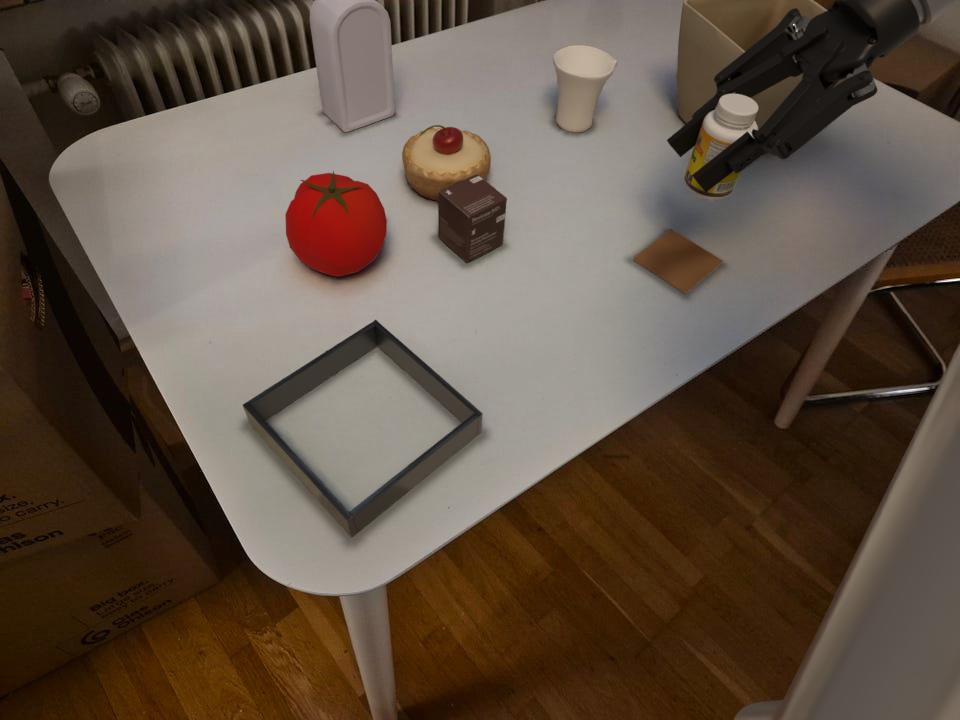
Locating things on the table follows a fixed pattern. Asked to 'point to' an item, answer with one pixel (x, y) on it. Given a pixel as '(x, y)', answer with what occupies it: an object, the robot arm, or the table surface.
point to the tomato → (335, 224)
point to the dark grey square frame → (329, 366)
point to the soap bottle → (353, 61)
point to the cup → (580, 84)
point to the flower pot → (729, 48)
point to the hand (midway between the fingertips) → (686, 165)
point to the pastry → (443, 159)
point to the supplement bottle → (721, 141)
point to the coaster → (678, 261)
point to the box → (471, 217)
